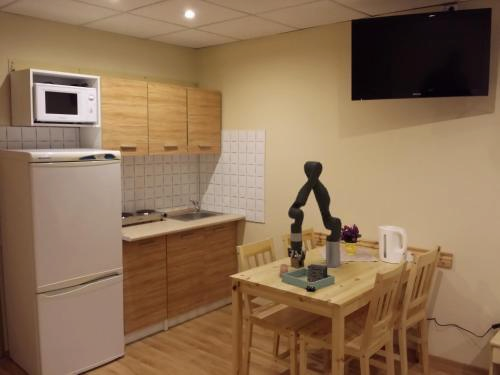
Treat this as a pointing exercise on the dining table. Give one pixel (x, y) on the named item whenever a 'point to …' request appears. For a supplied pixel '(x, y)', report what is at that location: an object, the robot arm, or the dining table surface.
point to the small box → (317, 272)
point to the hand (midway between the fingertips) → (296, 265)
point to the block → (296, 262)
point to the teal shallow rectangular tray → (292, 279)
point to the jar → (283, 269)
